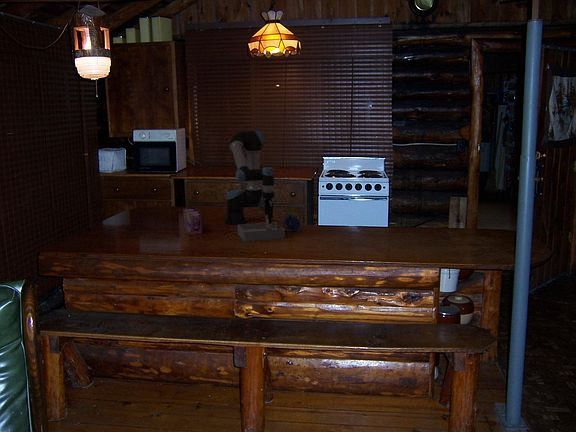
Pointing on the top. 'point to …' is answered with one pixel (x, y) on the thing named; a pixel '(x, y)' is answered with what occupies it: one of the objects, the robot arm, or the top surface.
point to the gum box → (192, 221)
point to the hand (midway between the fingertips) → (269, 227)
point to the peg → (267, 224)
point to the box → (260, 232)
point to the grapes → (291, 223)
